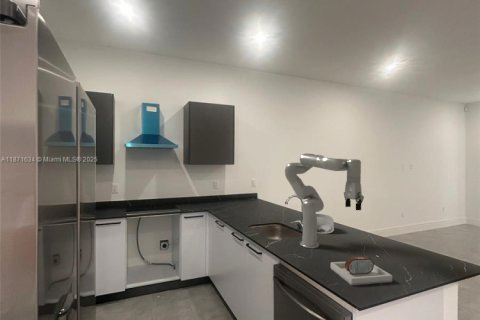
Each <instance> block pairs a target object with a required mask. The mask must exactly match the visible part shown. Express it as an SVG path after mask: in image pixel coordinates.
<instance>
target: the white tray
mask: <svg viewBox="0 0 480 320" xmlns="http://www.w3.org/2000/svg"><path fill="white" fill-rule="evenodd" d="M345 263H346V261H333V262H330V269H331V270H332V272H334V273H335V274H336V275H338V276H339V277H341V278H342V279H343V281H346V282H347V283H348V284H349V285H350V286H361V285H373V284H385V283H386V284H387V283H393V275H392V274H391V273H389V272H387V271H385V270H383V268H380V267H379V266H378V265H376V264H374V267H373V270H372V271H371V272H370V273H368V274H351V273H350V272H348V271H347V270H346V268H345Z"/></svg>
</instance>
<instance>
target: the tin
mask: <svg viewBox="0 0 480 320" xmlns="http://www.w3.org/2000/svg"><path fill="white" fill-rule="evenodd" d="M345 262H346V263H345V268H346V270H347V271H348V272H350V273H351V274H368V273H370V272H371V271H372V270H373V267H374V265H375V263H374V261H373V259H371V258H370V257H369V256H350V257H348V258H347V259H346V260H345Z"/></svg>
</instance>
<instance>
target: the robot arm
mask: <svg viewBox="0 0 480 320" xmlns="http://www.w3.org/2000/svg"><path fill="white" fill-rule="evenodd" d="M313 168H318V169H323V170H326V171H334V172H344V171H346V182H345V185H344V186H345V187H344V192H343V196H344V201H345V204H344V205H345V208H351V206H352V204H351V203H352V201H351V200H355V202H356V203H355V211H362V204H363V202H364V198H365V196H364V195H363V193H362V183H361V181H362V180H361V179H362V176H361V175H362V172H361V171H362V170H361V169H362V161H361V160H360V159H356V158H355V159H353V158H352V159H351V158H350V159H347V158H333V157H327V156H324V155H321V154H316V153H315V154H314V153H303V154H301V155H300V156H299V162H290V163H288V164H286V166H285V168H284V174H285V179H286V180H287V181H288V183H289V185H290V186H291V188H292V190H293V191H294V194H295V195H296V197H297V198H298V199H299V200H304V201H303V202H302V203H301V211H302V236H301V238H302V240H301V241H300V243H299V244H300V246H302V247H303V248H306V249H318V248H320V243H318V242H317V241H318V233H317V232H318V228H317V217H316V214H317V213H319V212H321V211H323V209H324V208H325V204H324V201H323V199H322V197H321V196H320V195H319V193H318V192H317V190H316V188H315V187H314V186H311V185H306V184H305V183H304V181H303V180H302V179H301V178H300V177H299V176H298V175H302V174H303V175H304V174H305V173H307V172H308V171H310V170H311V169H313Z"/></svg>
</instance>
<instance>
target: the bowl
mask: <svg viewBox="0 0 480 320" xmlns="http://www.w3.org/2000/svg"><path fill="white" fill-rule="evenodd" d="M316 217H317V234H321V232H319V231H321V230H324V232H322V234H324V235H325V234H330V233H333V232H334V231H335V227H334V226H335V225H334V219H333V217H332V216H330V215H328V214H323V213H316Z"/></svg>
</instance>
